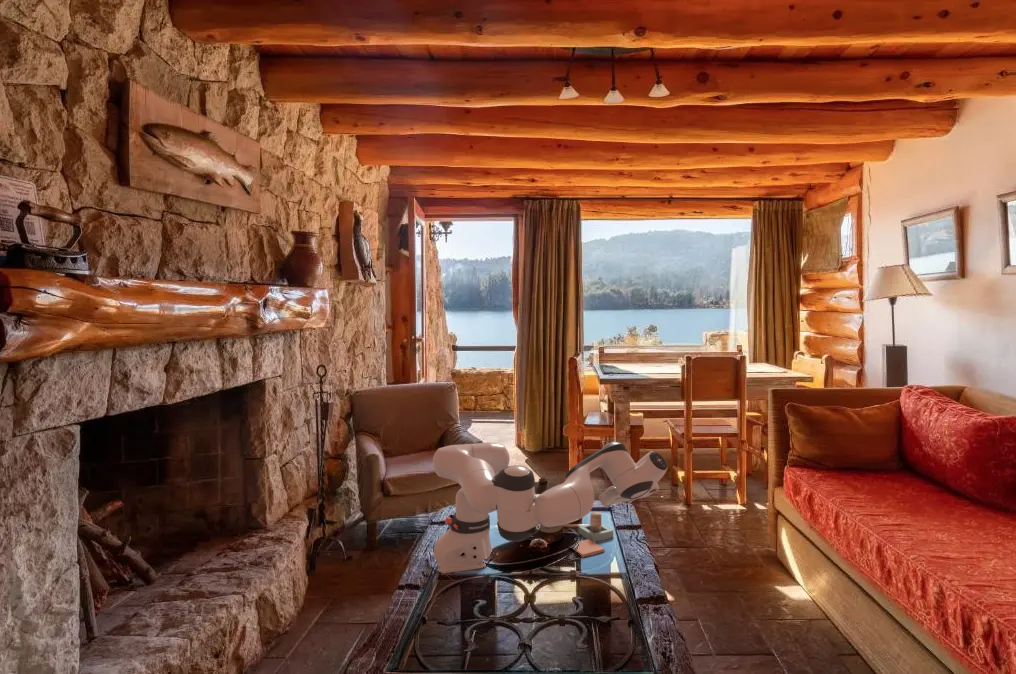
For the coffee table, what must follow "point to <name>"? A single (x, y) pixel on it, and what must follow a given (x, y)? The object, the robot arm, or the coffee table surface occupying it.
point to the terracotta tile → (588, 548)
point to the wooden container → (543, 531)
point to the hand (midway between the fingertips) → (616, 503)
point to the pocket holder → (597, 536)
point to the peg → (595, 522)
